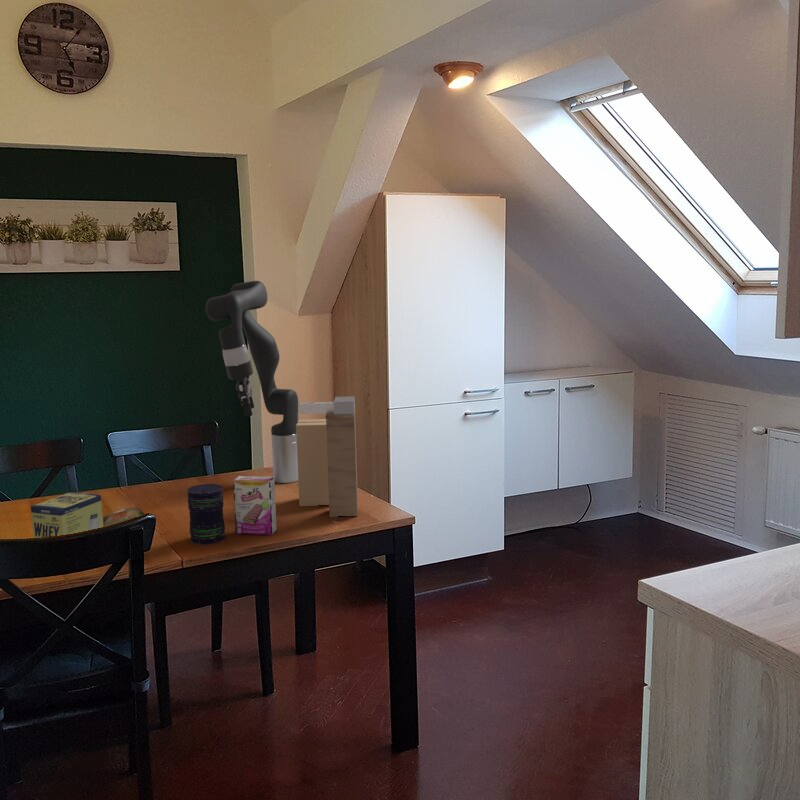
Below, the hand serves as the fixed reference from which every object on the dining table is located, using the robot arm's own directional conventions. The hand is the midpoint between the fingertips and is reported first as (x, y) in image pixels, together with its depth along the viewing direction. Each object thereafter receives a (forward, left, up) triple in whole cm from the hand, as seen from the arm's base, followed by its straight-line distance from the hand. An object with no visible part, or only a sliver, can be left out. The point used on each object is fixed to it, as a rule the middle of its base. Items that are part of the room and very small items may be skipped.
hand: (250, 412), depth 255 cm
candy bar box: (+17, +3, -33) cm, 37 cm away
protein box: (+32, -45, -33) cm, 64 cm away
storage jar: (+22, -10, -33) cm, 41 cm away
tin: (+19, -35, -33) cm, 52 cm away
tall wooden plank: (0, +28, -33) cm, 43 cm away
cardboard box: (-14, +19, -33) cm, 40 cm away
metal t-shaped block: (0, +23, -1) cm, 23 cm away
